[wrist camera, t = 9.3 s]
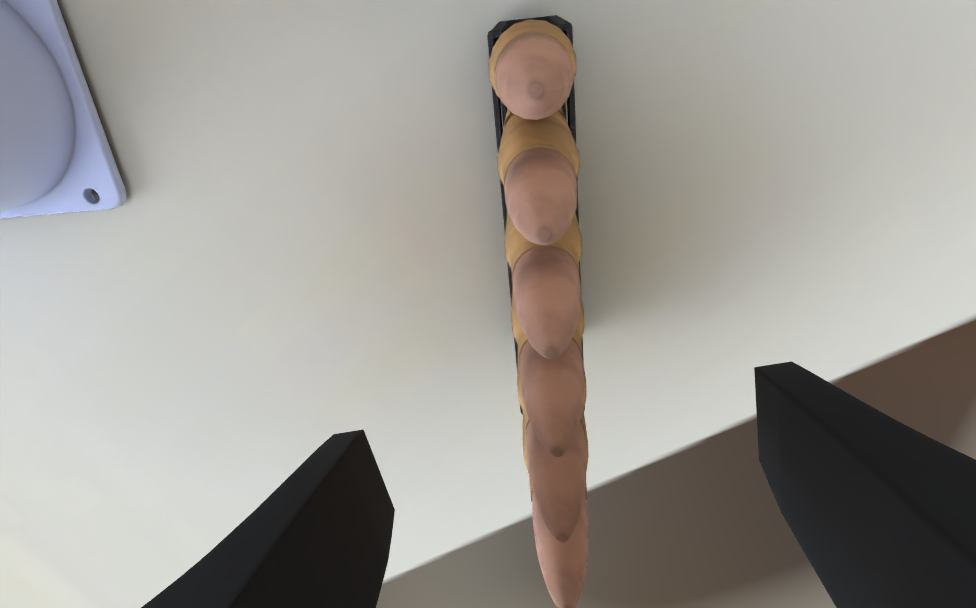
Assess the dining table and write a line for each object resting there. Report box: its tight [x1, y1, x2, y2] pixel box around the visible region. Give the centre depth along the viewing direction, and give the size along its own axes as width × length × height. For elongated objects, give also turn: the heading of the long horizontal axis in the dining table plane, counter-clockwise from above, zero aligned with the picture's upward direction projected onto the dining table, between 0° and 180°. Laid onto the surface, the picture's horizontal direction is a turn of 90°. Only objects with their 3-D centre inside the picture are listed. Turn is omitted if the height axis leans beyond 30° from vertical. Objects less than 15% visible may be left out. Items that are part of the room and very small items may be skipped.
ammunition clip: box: [487, 15, 588, 608], centre depth 14 cm, size 11×2×12 cm, turn 5°
